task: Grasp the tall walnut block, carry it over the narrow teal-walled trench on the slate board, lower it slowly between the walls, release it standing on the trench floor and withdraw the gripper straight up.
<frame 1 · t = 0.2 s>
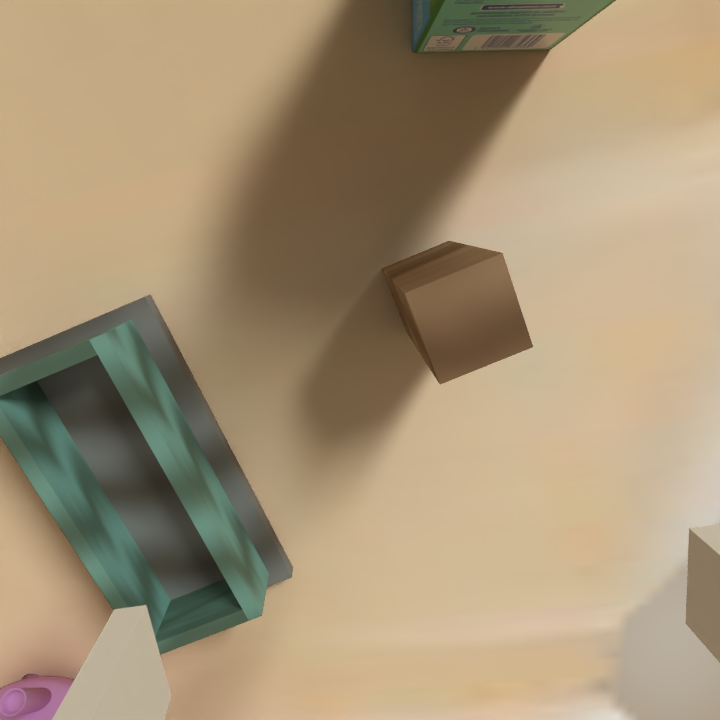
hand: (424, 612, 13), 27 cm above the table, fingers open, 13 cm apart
teapot: (61, 695, 46), on the table
well: (155, 471, 40), on the table
walnut block: (427, 288, 38), on the table
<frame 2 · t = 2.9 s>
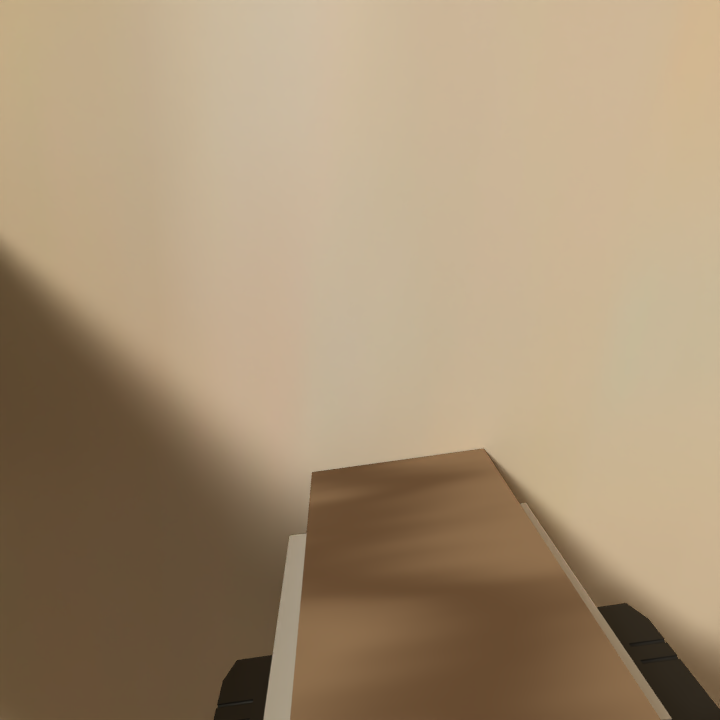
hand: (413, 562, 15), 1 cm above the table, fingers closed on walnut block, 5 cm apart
walnut block: (407, 536, 16), on the table, touching gripper
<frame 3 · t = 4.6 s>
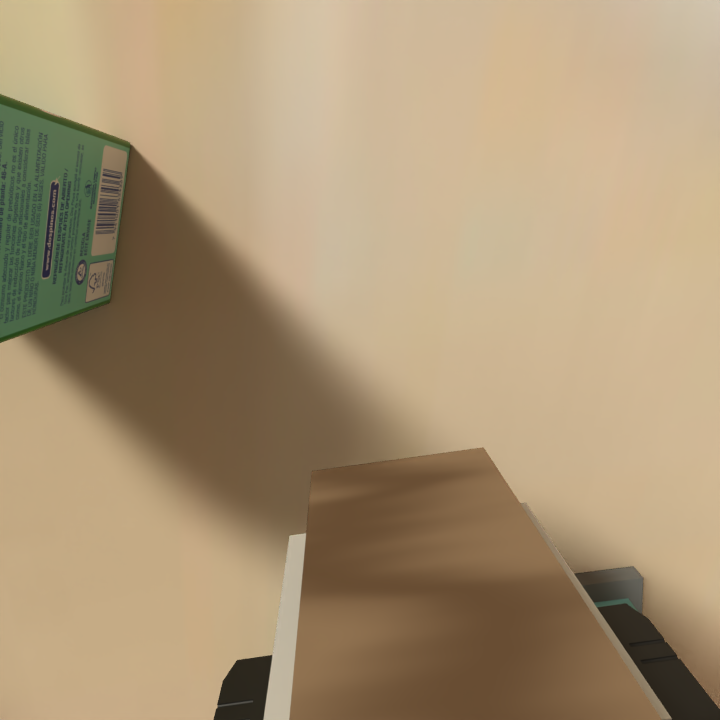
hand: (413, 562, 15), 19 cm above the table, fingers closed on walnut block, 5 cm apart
well: (467, 658, 38), on the table
walnut block: (406, 535, 16), point 17 cm above the table, touching gripper
milk carton: (40, 206, 30), on the table
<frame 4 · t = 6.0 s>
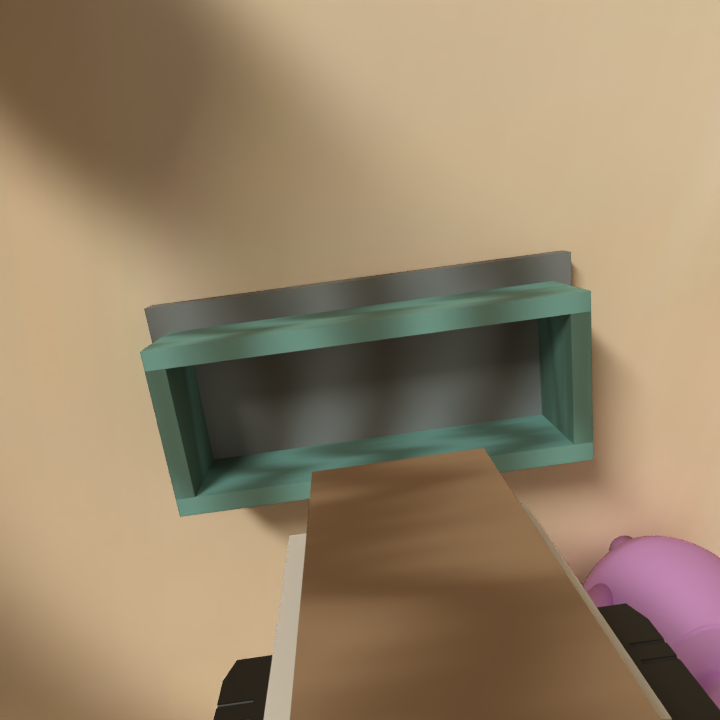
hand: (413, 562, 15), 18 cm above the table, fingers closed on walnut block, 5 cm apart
teapot: (621, 578, 37), on the table
well: (370, 376, 32), on the table
walnut block: (407, 535, 16), point 17 cm above the table, touching gripper
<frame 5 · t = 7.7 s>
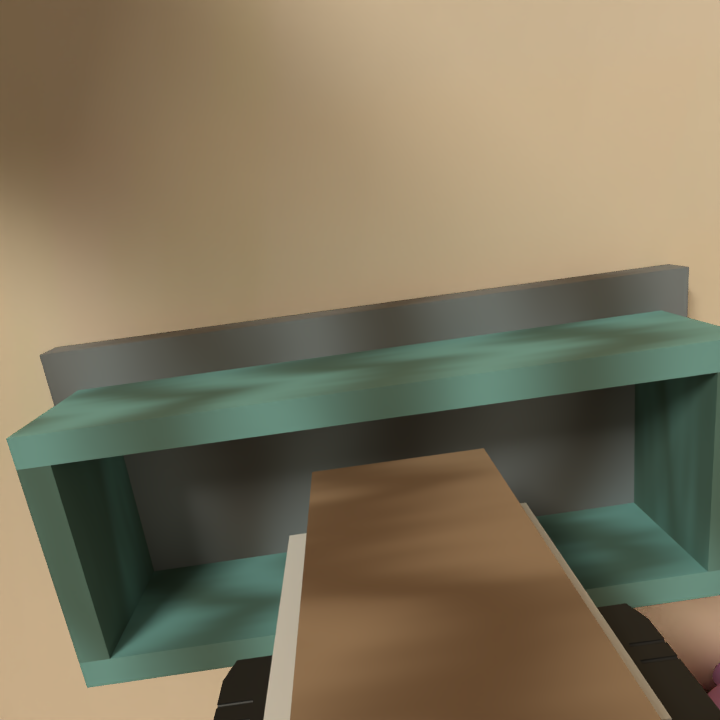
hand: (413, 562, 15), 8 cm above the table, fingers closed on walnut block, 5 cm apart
well: (383, 447, 22), on the table
walnut block: (407, 535, 16), point 6 cm above the table, touching gripper
when the fingers open (4 cm above the table, at t = 9.1 s): walnut block drops 2 cm, resting on well.
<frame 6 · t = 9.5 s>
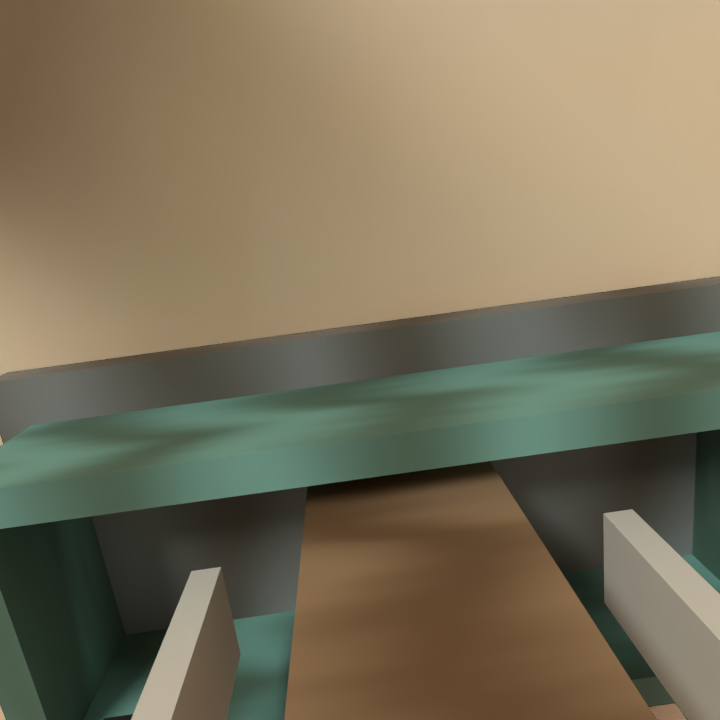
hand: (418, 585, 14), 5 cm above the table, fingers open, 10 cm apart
well: (395, 488, 19), on the table
walnut block: (397, 504, 18), point 1 cm above the table, touching well
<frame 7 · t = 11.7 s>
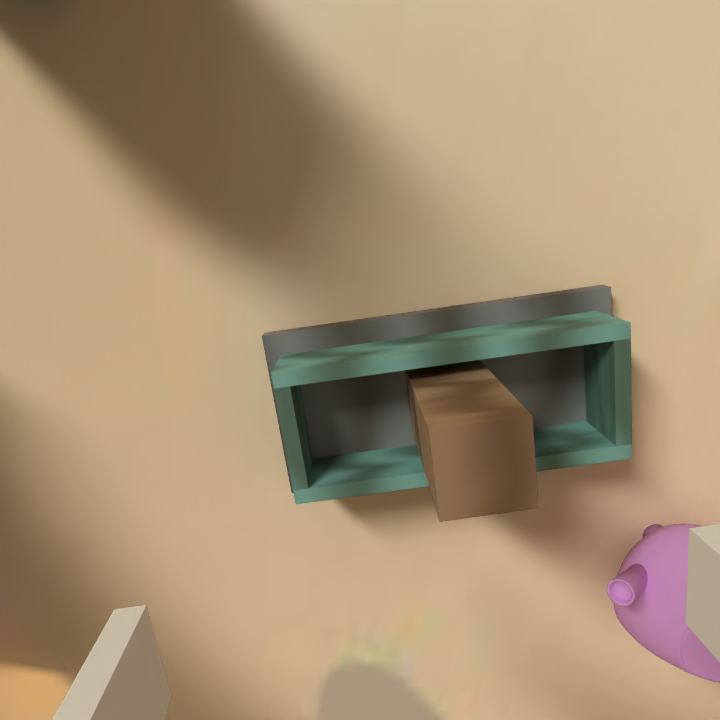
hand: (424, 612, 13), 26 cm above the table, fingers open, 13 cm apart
teapot: (653, 561, 43), on the table
well: (441, 389, 39), on the table
walnut block: (443, 393, 38), point 1 cm above the table, touching well
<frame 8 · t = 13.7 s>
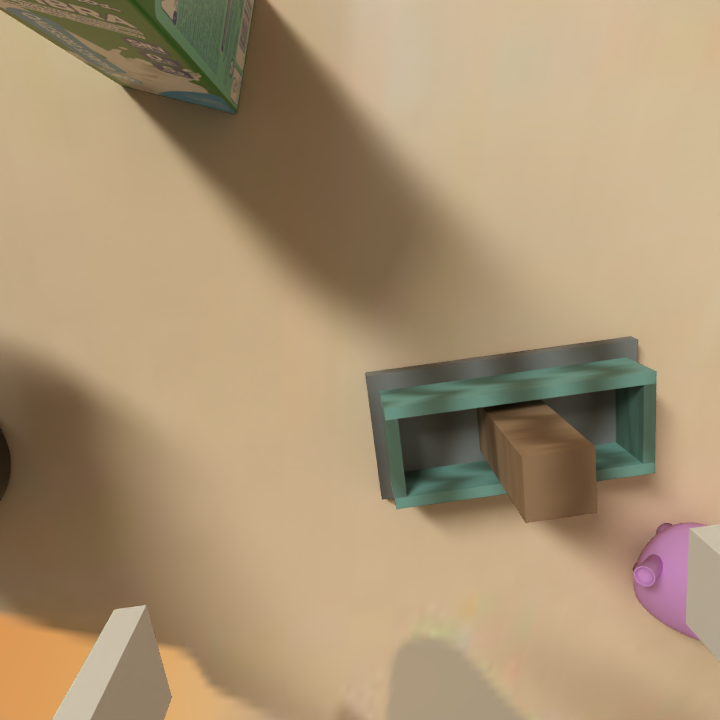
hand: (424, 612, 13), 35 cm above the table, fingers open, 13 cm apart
teapot: (663, 552, 54), on the table
well: (502, 417, 49), on the table
walnut block: (505, 421, 48), point 1 cm above the table, touching well
milk carton: (187, 37, 40), on the table
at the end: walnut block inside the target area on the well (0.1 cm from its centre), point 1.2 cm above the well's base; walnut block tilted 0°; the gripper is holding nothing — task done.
